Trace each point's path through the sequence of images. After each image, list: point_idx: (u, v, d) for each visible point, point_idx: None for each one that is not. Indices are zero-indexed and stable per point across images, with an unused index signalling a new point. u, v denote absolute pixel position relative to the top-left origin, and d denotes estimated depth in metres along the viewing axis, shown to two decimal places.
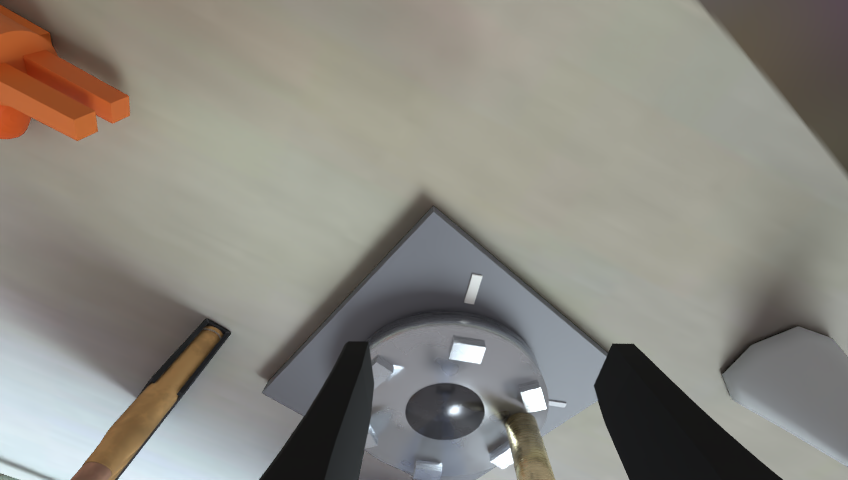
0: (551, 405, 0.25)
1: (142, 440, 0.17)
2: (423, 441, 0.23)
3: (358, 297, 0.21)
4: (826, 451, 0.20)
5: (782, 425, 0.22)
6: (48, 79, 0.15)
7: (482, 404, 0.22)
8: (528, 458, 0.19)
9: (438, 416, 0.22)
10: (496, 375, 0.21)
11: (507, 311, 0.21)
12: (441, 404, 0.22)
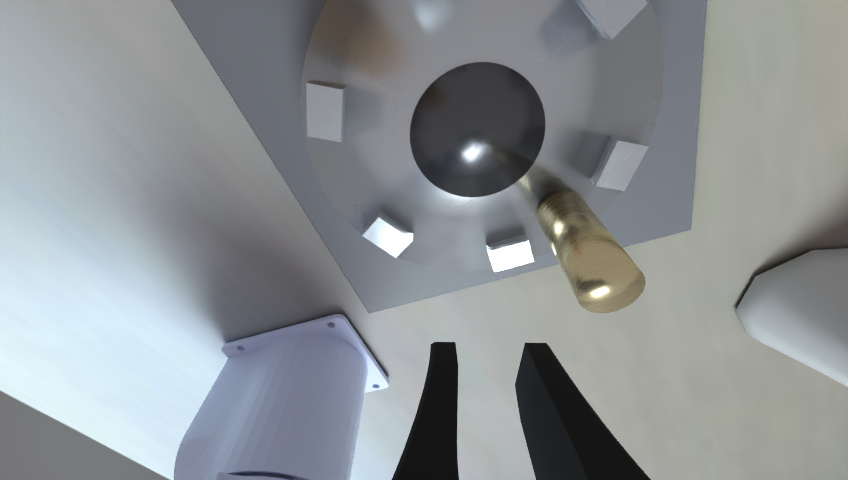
0: None
1: None
2: (410, 180, 0.14)
3: None
4: None
5: (799, 340, 0.19)
6: None
7: (541, 146, 0.13)
8: (596, 228, 0.12)
9: (464, 138, 0.13)
10: (596, 99, 0.12)
11: None
12: (482, 117, 0.13)
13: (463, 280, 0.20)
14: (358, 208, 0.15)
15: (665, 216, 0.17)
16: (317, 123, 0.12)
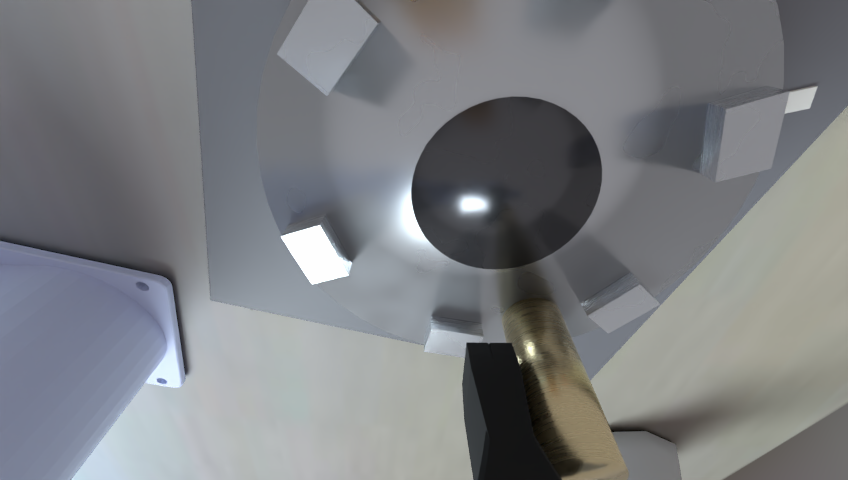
0: None
1: None
2: (389, 199, 0.10)
3: None
4: None
5: None
6: None
7: (562, 246, 0.10)
8: (585, 380, 0.09)
9: (489, 189, 0.09)
10: (646, 229, 0.10)
11: None
12: (525, 177, 0.09)
13: (357, 321, 0.15)
14: (295, 196, 0.10)
15: (581, 360, 0.16)
16: (306, 46, 0.07)
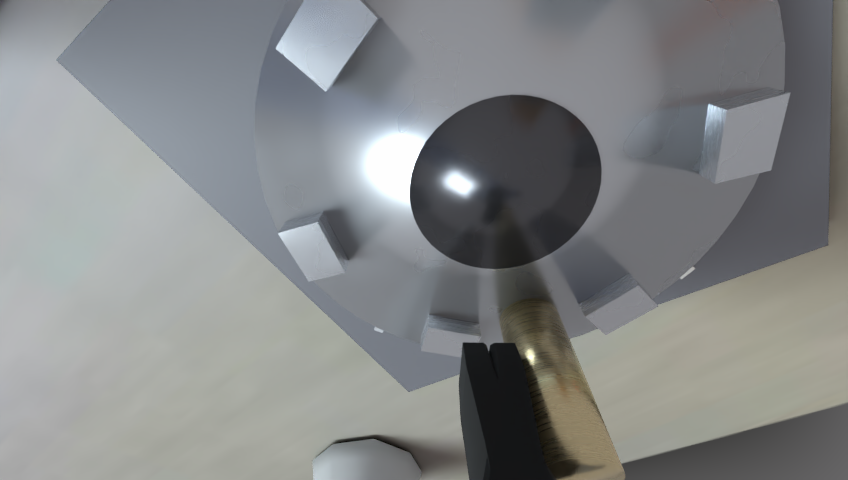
0: None
1: None
2: (387, 197, 0.09)
3: (818, 61, 0.09)
4: None
5: None
6: None
7: (560, 246, 0.10)
8: (582, 381, 0.09)
9: (488, 188, 0.09)
10: (645, 230, 0.10)
11: None
12: (524, 176, 0.09)
13: (242, 215, 0.12)
14: (292, 192, 0.09)
15: (416, 371, 0.17)
16: (305, 40, 0.07)
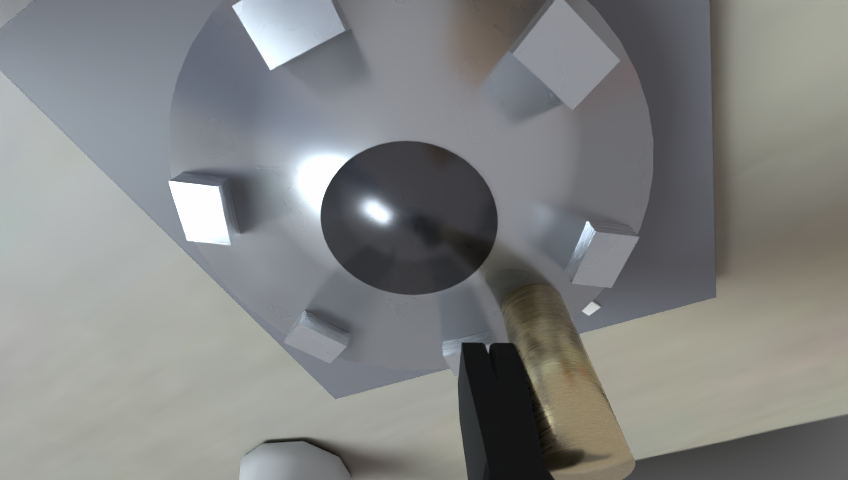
0: None
1: None
2: (334, 278, 0.11)
3: (701, 138, 0.10)
4: None
5: None
6: None
7: (495, 237, 0.10)
8: (567, 360, 0.09)
9: (393, 231, 0.10)
10: (563, 179, 0.09)
11: None
12: (412, 205, 0.10)
13: (169, 217, 0.12)
14: (277, 309, 0.12)
15: (342, 380, 0.17)
16: (196, 226, 0.09)
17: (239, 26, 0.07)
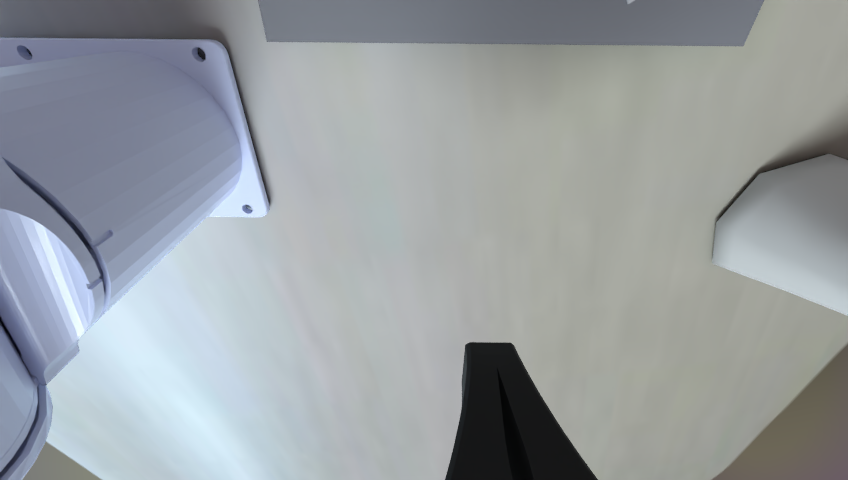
0: None
1: None
2: None
3: None
4: None
5: (791, 248, 0.16)
6: None
7: None
8: None
9: None
10: None
11: None
12: None
13: (429, 23, 0.13)
14: None
15: (726, 5, 0.12)
16: None
17: None
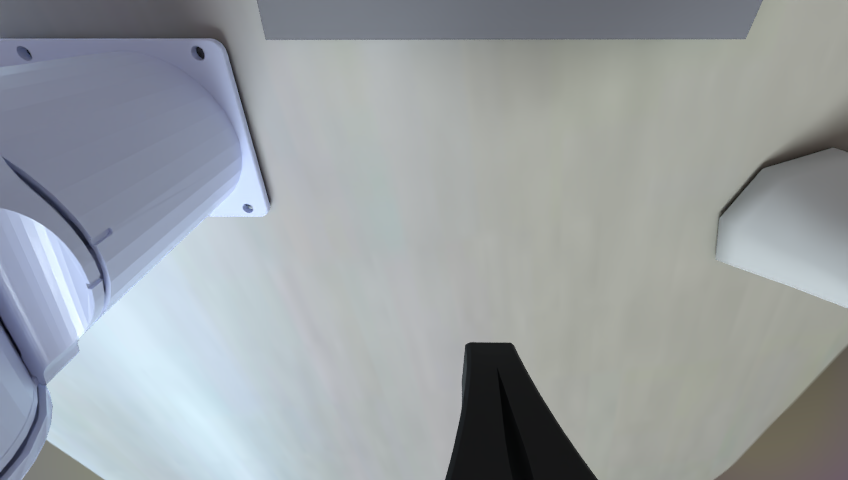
0: None
1: None
2: None
3: None
4: None
5: (796, 243, 0.15)
6: None
7: None
8: None
9: None
10: None
11: None
12: None
13: (428, 19, 0.13)
14: None
15: None
16: None
17: None
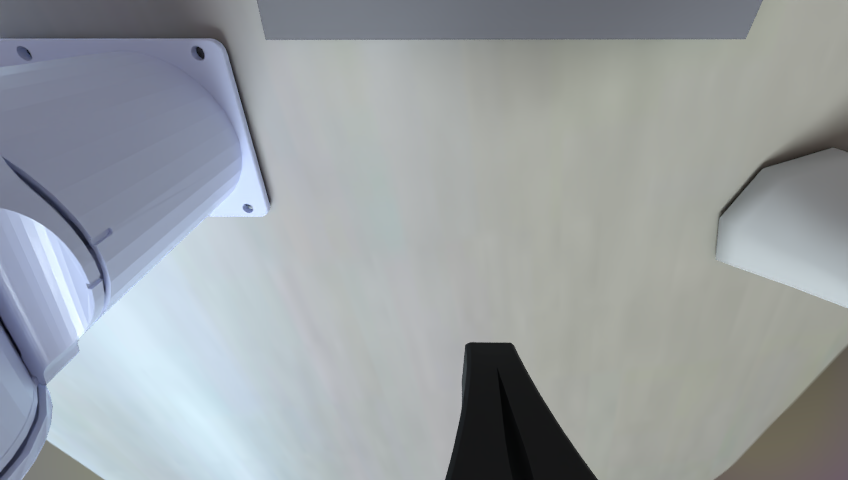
0: None
1: None
2: None
3: None
4: None
5: (796, 243, 0.15)
6: None
7: None
8: None
9: None
10: None
11: None
12: None
13: (428, 19, 0.13)
14: None
15: None
16: None
17: None
